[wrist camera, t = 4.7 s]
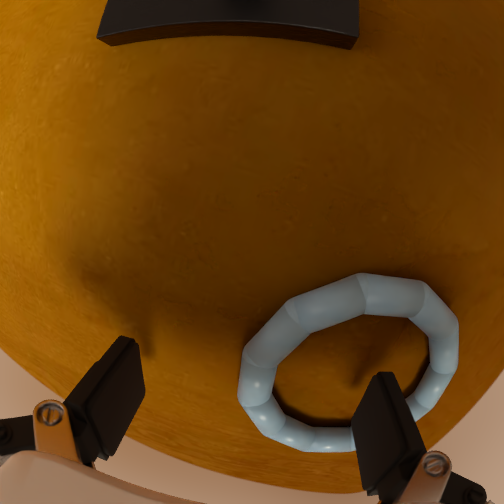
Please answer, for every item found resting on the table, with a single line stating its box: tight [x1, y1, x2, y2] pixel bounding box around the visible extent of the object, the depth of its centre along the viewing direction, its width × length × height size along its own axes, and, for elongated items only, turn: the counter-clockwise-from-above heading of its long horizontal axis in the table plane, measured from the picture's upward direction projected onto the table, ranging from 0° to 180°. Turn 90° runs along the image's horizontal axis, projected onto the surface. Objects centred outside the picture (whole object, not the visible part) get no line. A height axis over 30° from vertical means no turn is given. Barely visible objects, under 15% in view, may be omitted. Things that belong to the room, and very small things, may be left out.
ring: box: [237, 273, 459, 452], centre depth 10 cm, size 10×10×1 cm
